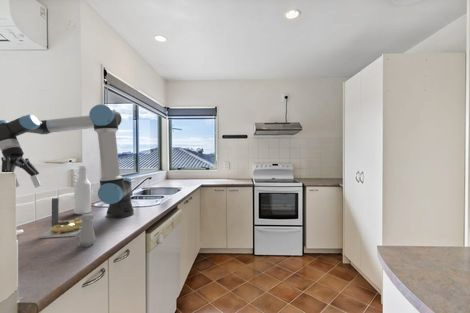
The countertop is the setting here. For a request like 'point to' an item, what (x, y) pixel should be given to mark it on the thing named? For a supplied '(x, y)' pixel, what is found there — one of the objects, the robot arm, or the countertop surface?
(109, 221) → the countertop surface
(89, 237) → the salt shaker
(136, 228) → the countertop surface
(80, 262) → the countertop surface
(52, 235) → the flange plate
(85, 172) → the alcohol
